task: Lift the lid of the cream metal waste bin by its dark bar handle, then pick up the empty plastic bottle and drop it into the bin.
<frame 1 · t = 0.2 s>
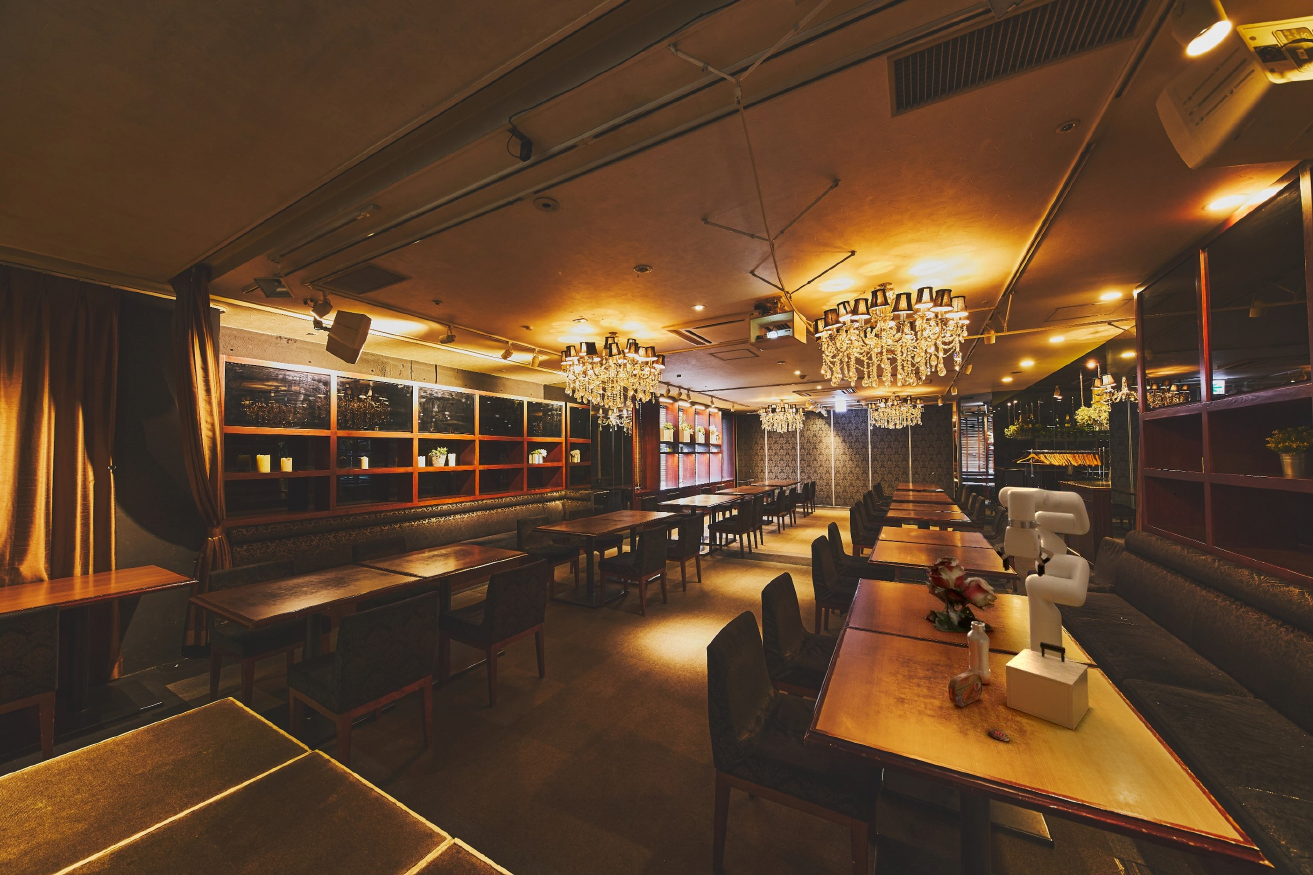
hand: (1023, 573, 165), 37 cm above the table, tool pointing down, fingers open, 9 cm apart
bin: (1047, 707, 146), on the table
tin: (965, 701, 150), on the table
rose bouquet: (955, 622, 217), on the table
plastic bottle: (979, 682, 162), on the table
matchbox: (999, 736, 131), on the table
bin lid: (1046, 658, 146), point 15 cm above the table, hinge at 0.0°
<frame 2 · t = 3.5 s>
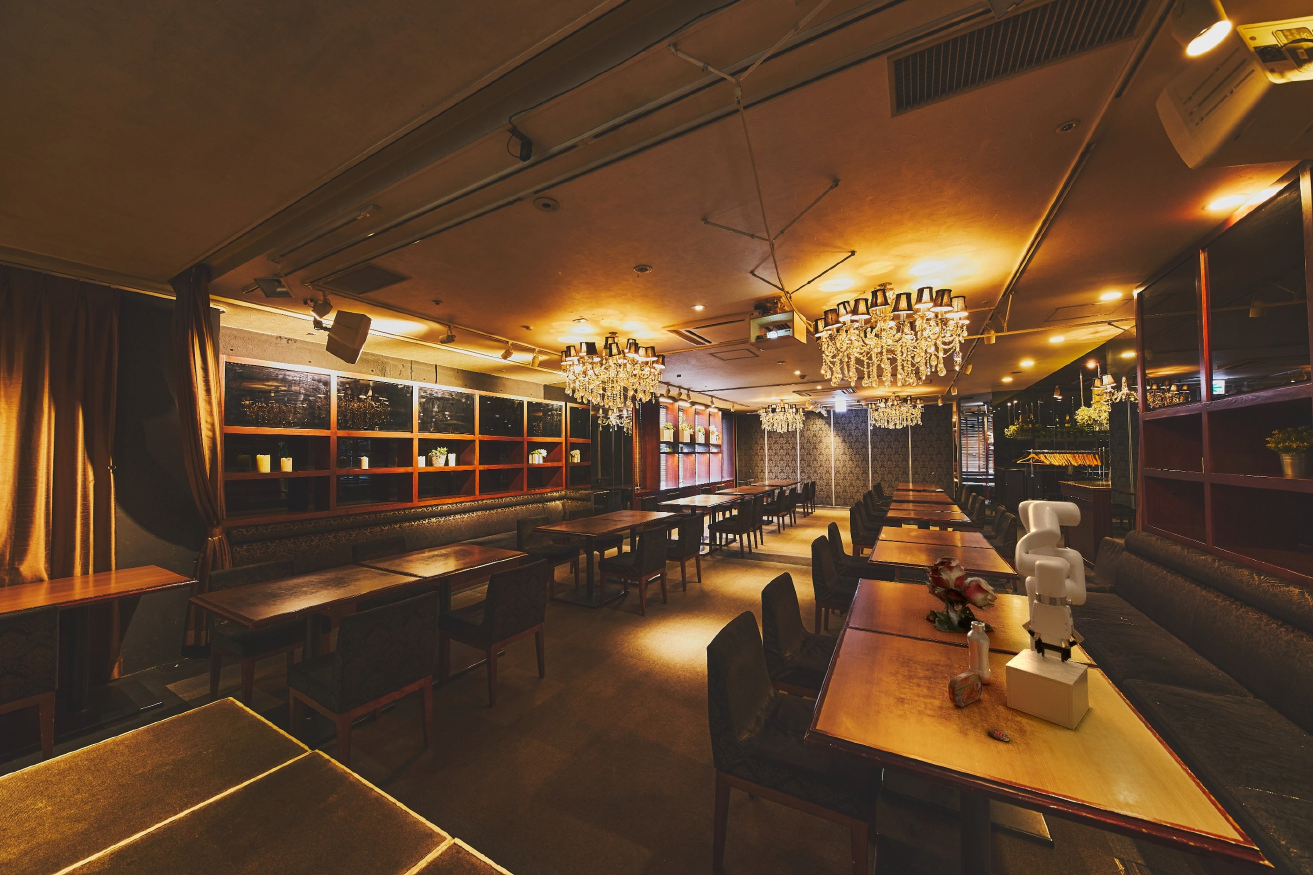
hand: (1052, 655, 150), 14 cm above the table, tool pointing down, fingers closed on bin lid, 6 cm apart
bin lid: (1046, 658, 146), point 15 cm above the table, hinge at 0.0°, touching gripper
everything else where it was.
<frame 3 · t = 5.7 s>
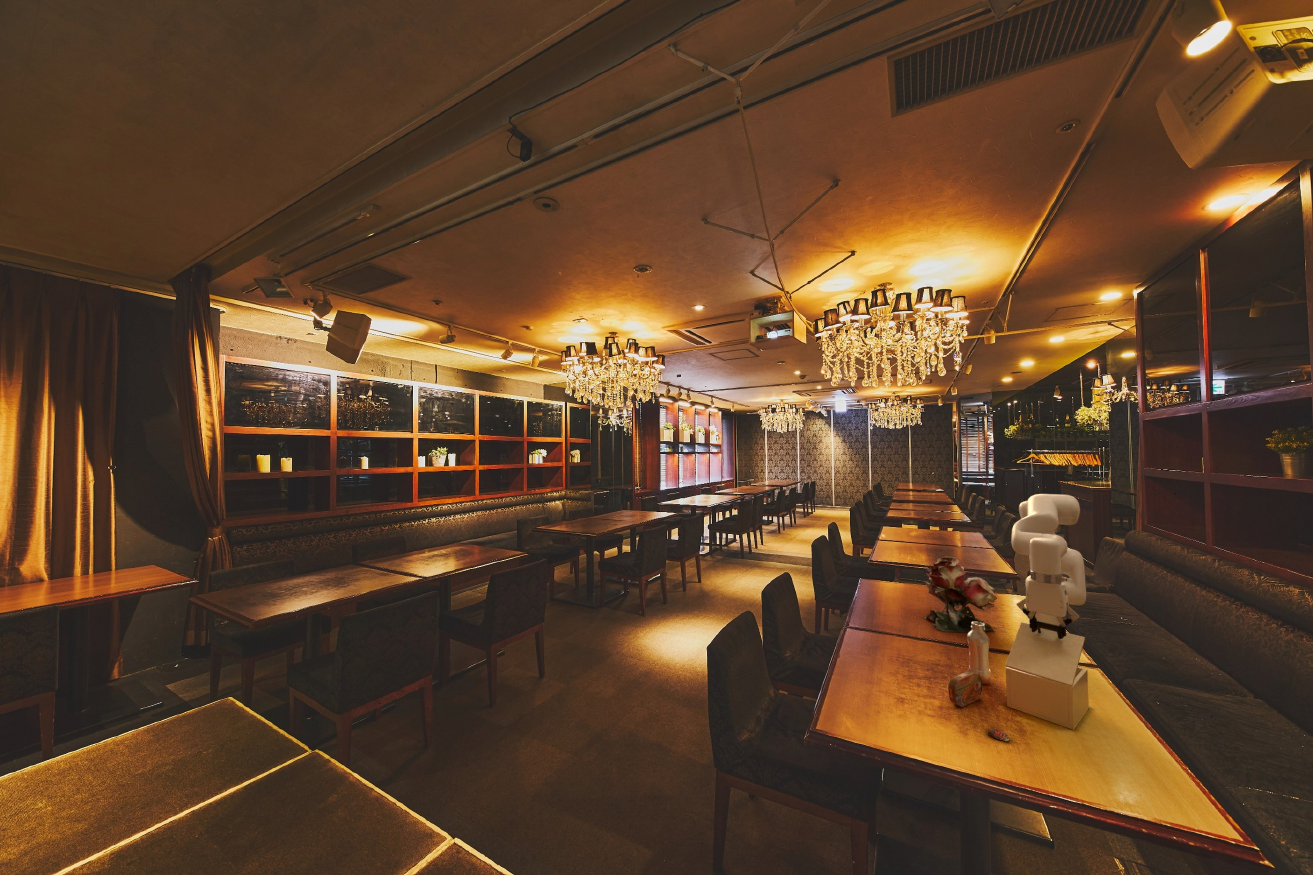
hand: (1047, 633, 148), 22 cm above the table, tool pointing down, fingers closed on bin lid, 6 cm apart
bin lid: (1043, 646, 145), point 19 cm above the table, hinge at 30.7°, touching gripper
everything else where it was.
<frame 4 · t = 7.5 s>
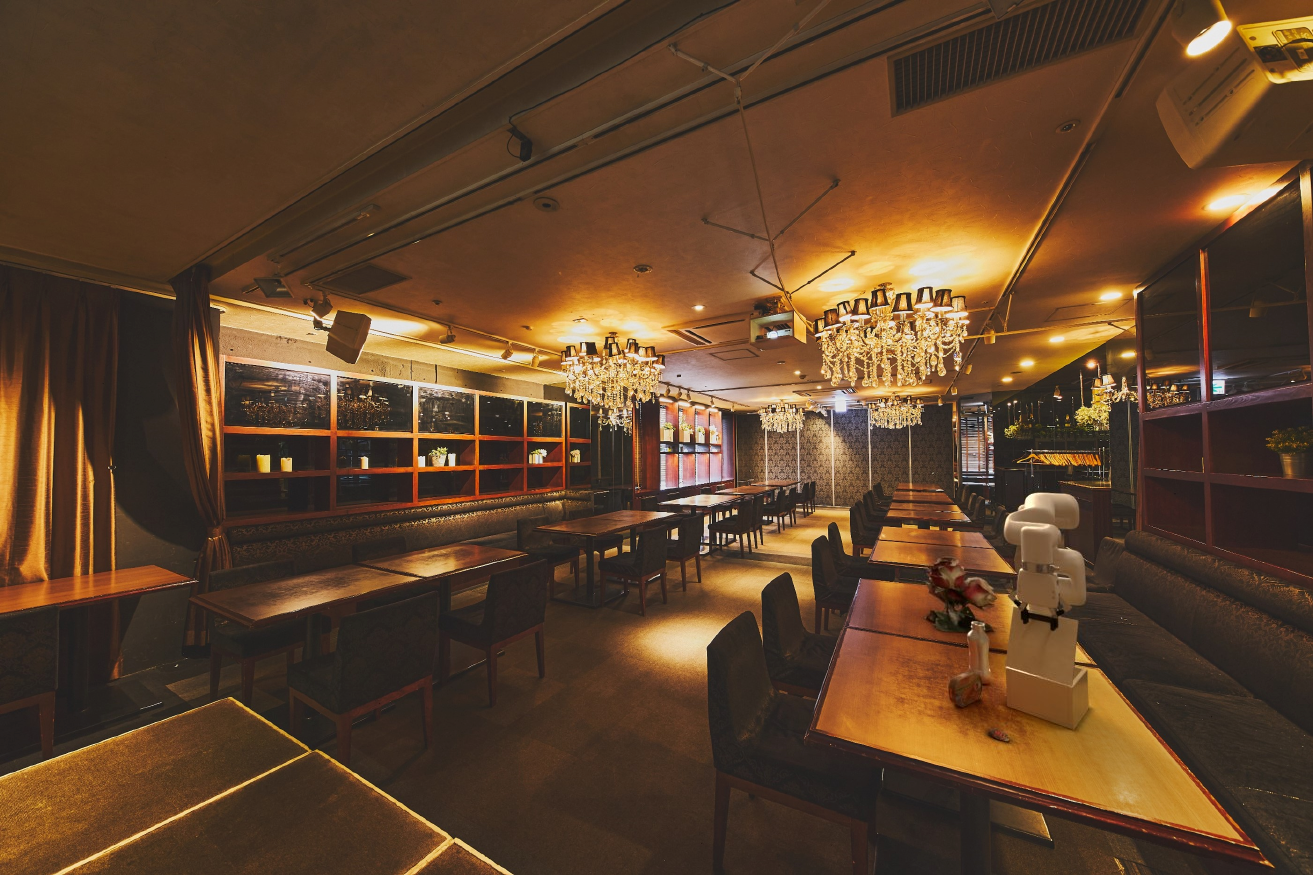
hand: (1039, 625, 143), 26 cm above the table, tool pointing down, fingers closed on bin lid, 6 cm apart
bin lid: (1038, 641, 142), point 22 cm above the table, hinge at 60.7°, touching gripper
everything else where it was.
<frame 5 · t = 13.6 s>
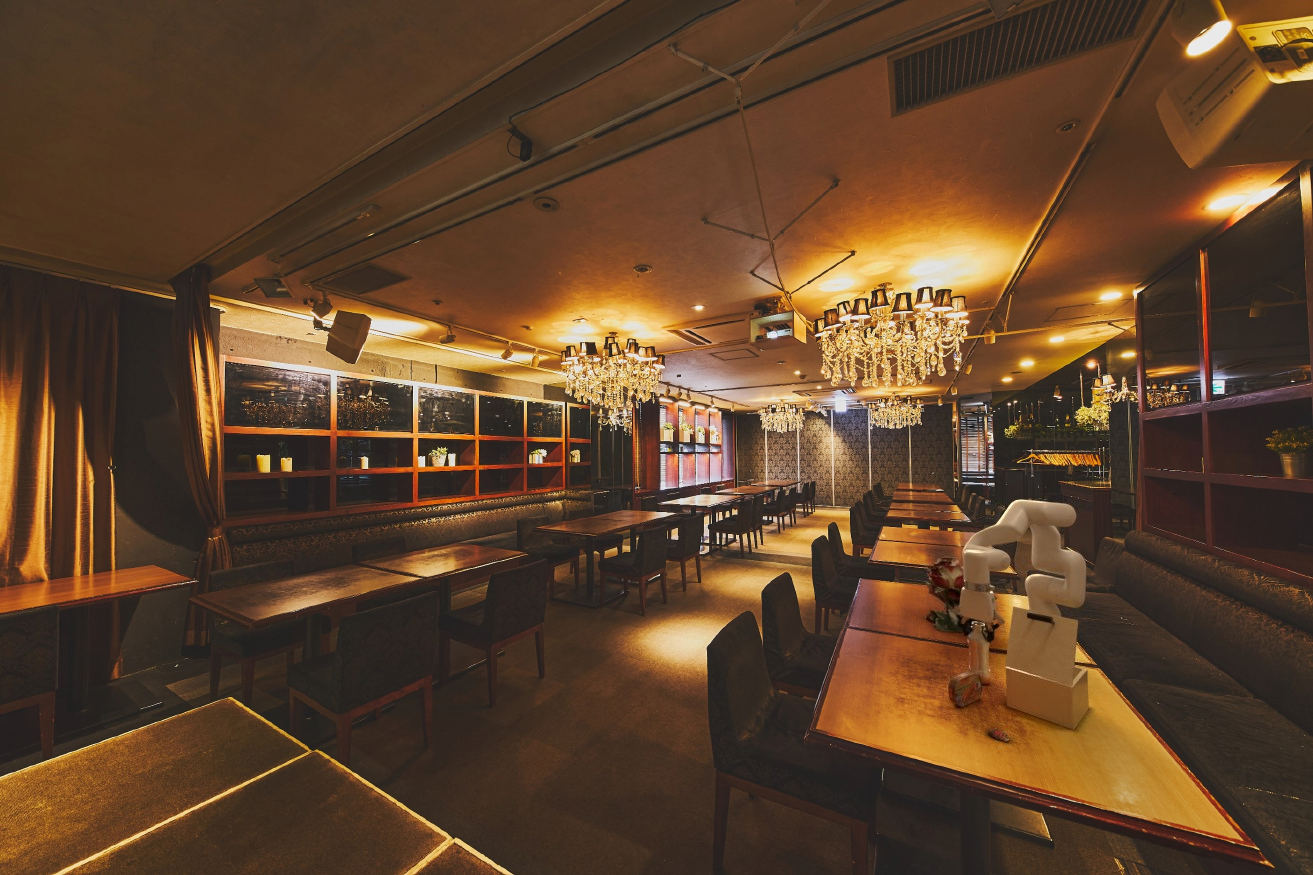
hand: (978, 637, 162), 15 cm above the table, tool pointing down, fingers closed on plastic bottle, 6 cm apart
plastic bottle: (979, 682, 162), on the table, touching gripper
bin lid: (1038, 641, 142), point 22 cm above the table, hinge at 61.1°
everything else where it was.
when the fingers open (25 cm above the table, at t = 19.8 s): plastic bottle drops 9 cm, resting on bin.
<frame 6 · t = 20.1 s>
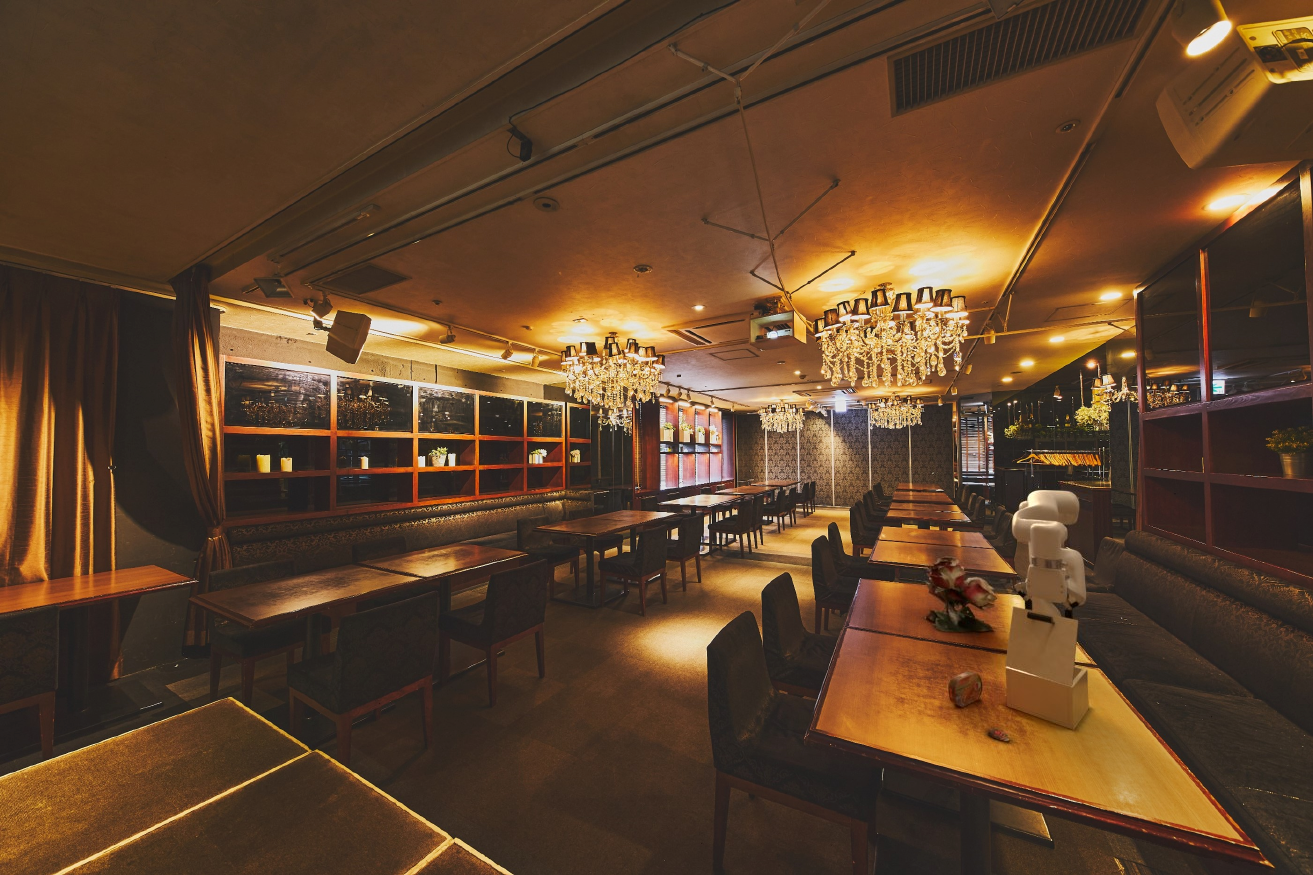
hand: (1048, 616, 149), 27 cm above the table, tool pointing down, fingers open, 9 cm apart
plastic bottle: (1051, 699, 148), point 1 cm above the table, touching bin
everything else where it was.
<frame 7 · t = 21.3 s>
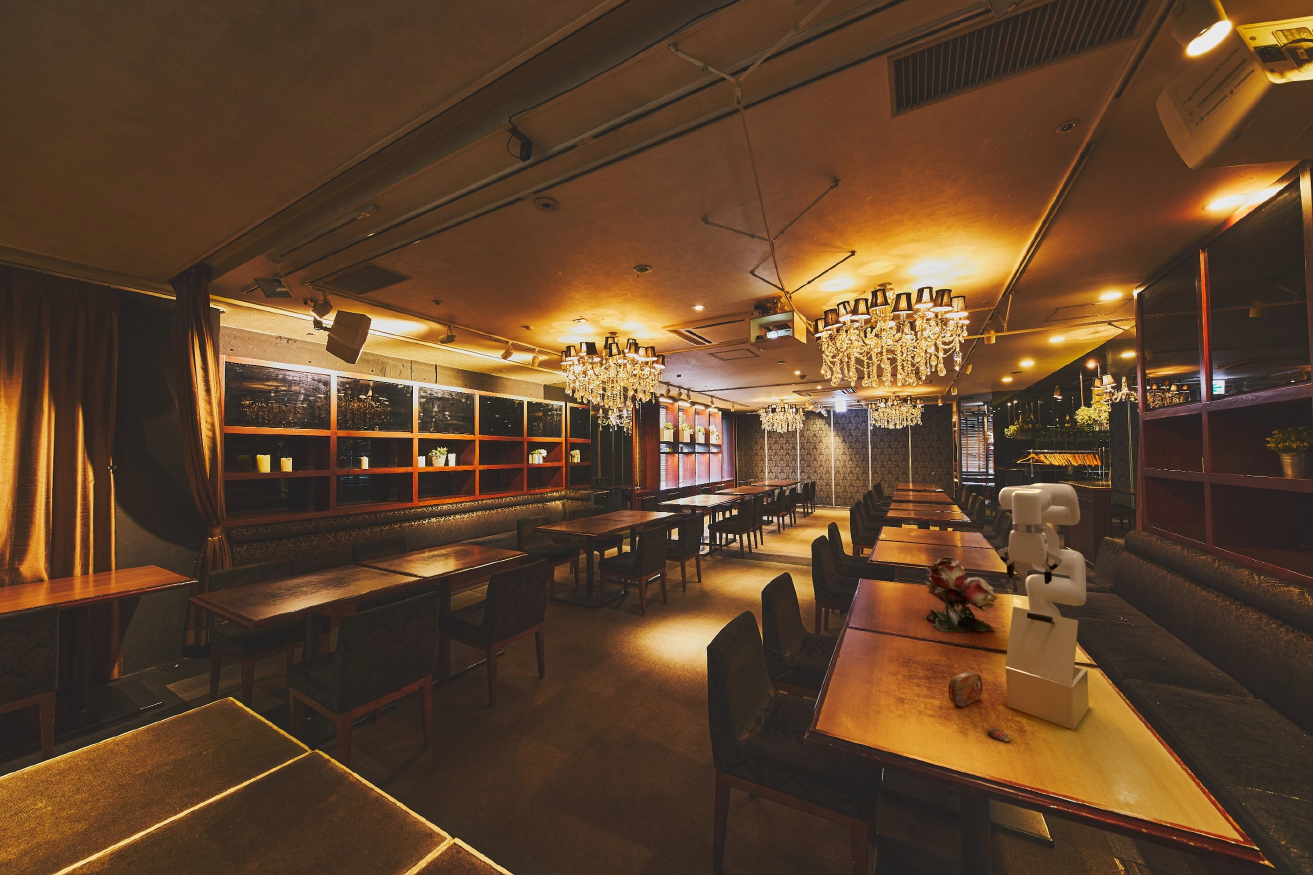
hand: (1028, 579, 155), 37 cm above the table, tool pointing down, fingers open, 9 cm apart
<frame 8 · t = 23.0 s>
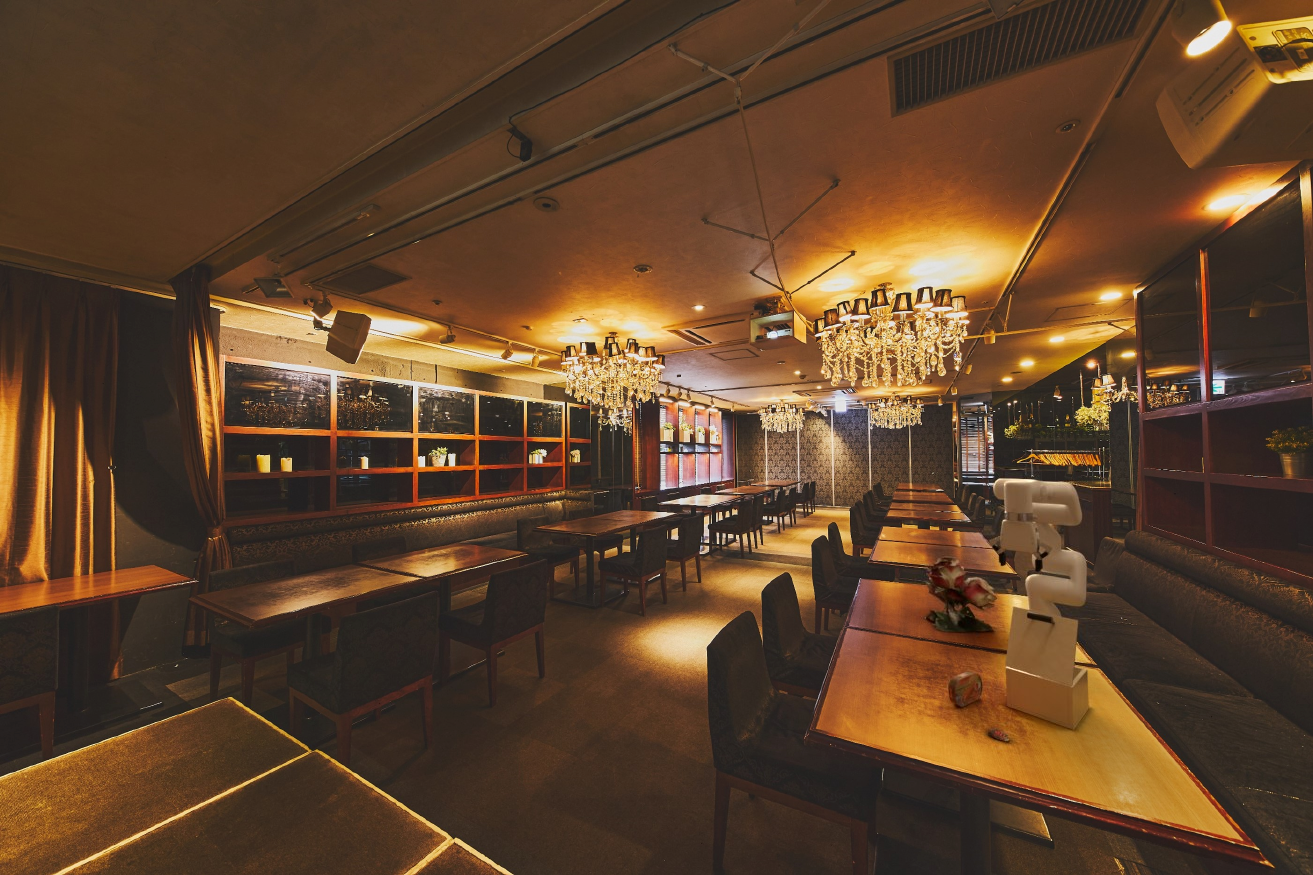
hand: (1020, 568, 158), 40 cm above the table, tool pointing down, fingers open, 9 cm apart
at the end: bin lid at +61° (first picture: +0°); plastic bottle inside the target area in the bin (4.2 cm from its centre), point 0.8 cm above the bin's base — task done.
